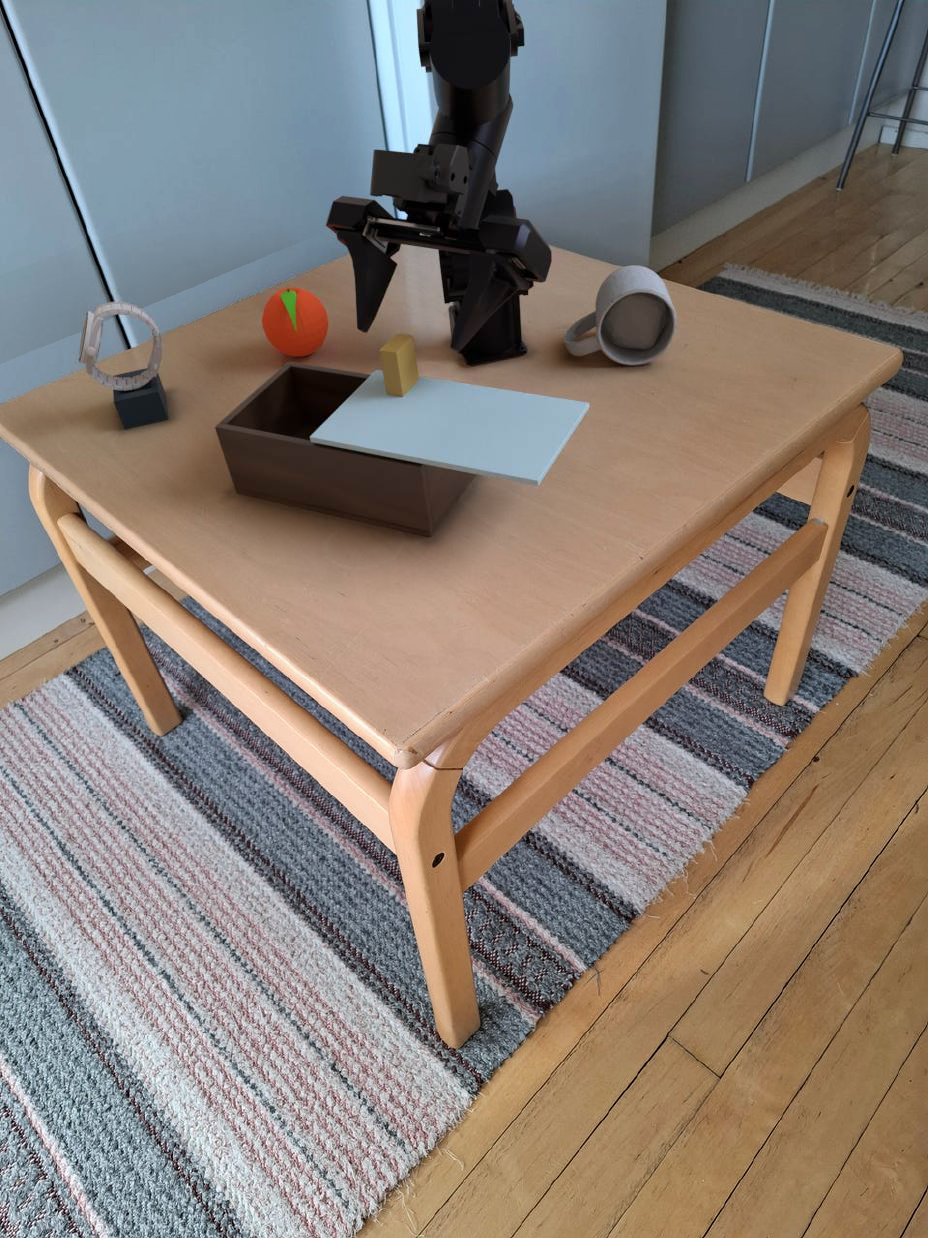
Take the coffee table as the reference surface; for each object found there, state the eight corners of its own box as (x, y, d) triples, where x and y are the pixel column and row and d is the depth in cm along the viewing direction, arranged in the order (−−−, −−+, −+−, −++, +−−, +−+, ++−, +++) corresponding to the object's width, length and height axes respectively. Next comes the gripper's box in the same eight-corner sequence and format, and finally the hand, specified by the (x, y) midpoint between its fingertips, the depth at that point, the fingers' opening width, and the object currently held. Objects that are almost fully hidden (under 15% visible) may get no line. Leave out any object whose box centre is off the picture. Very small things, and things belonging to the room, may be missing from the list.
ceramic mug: (664, 324, 95) (667, 251, 89) (675, 363, 89) (679, 287, 84) (562, 333, 96) (560, 262, 90) (566, 372, 90) (564, 298, 85)
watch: (104, 407, 93) (61, 305, 86) (182, 389, 94) (147, 287, 87) (104, 434, 89) (60, 330, 82) (186, 415, 90) (149, 311, 83)
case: (304, 425, 87) (288, 361, 82) (488, 460, 80) (482, 391, 75) (236, 493, 80) (214, 426, 75) (430, 537, 73) (420, 467, 68)
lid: (377, 374, 79) (368, 325, 76) (589, 408, 72) (589, 355, 68) (310, 442, 72) (298, 391, 69) (538, 486, 65) (535, 432, 62)
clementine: (339, 366, 95) (325, 301, 90) (273, 378, 94) (256, 313, 89) (330, 332, 101) (317, 269, 96) (268, 344, 100) (252, 281, 95)
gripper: (315, 87, 70) (259, 285, 71) (529, 101, 62) (461, 324, 63) (387, 161, 80) (337, 334, 81) (579, 182, 72) (520, 372, 73)
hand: (406, 340), depth 74 cm, fingers open, 9 cm apart
